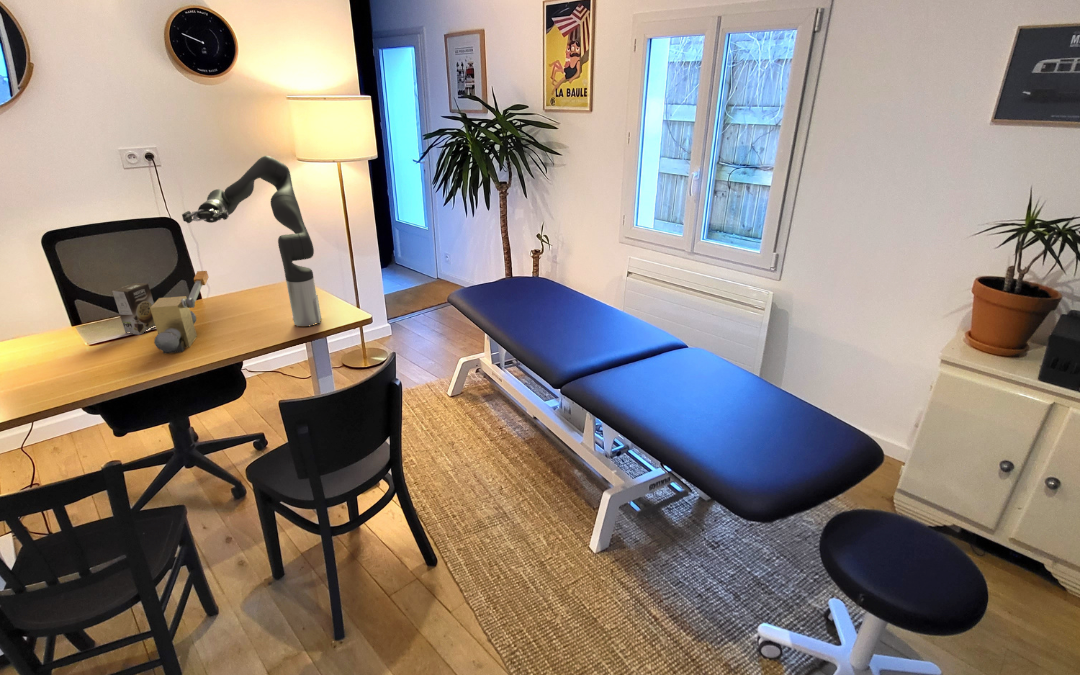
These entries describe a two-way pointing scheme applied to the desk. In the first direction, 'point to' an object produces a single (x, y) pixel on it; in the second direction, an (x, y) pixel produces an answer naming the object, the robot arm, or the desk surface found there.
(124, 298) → the coffee box
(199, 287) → the lever
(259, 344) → the desk surface
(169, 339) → the block
